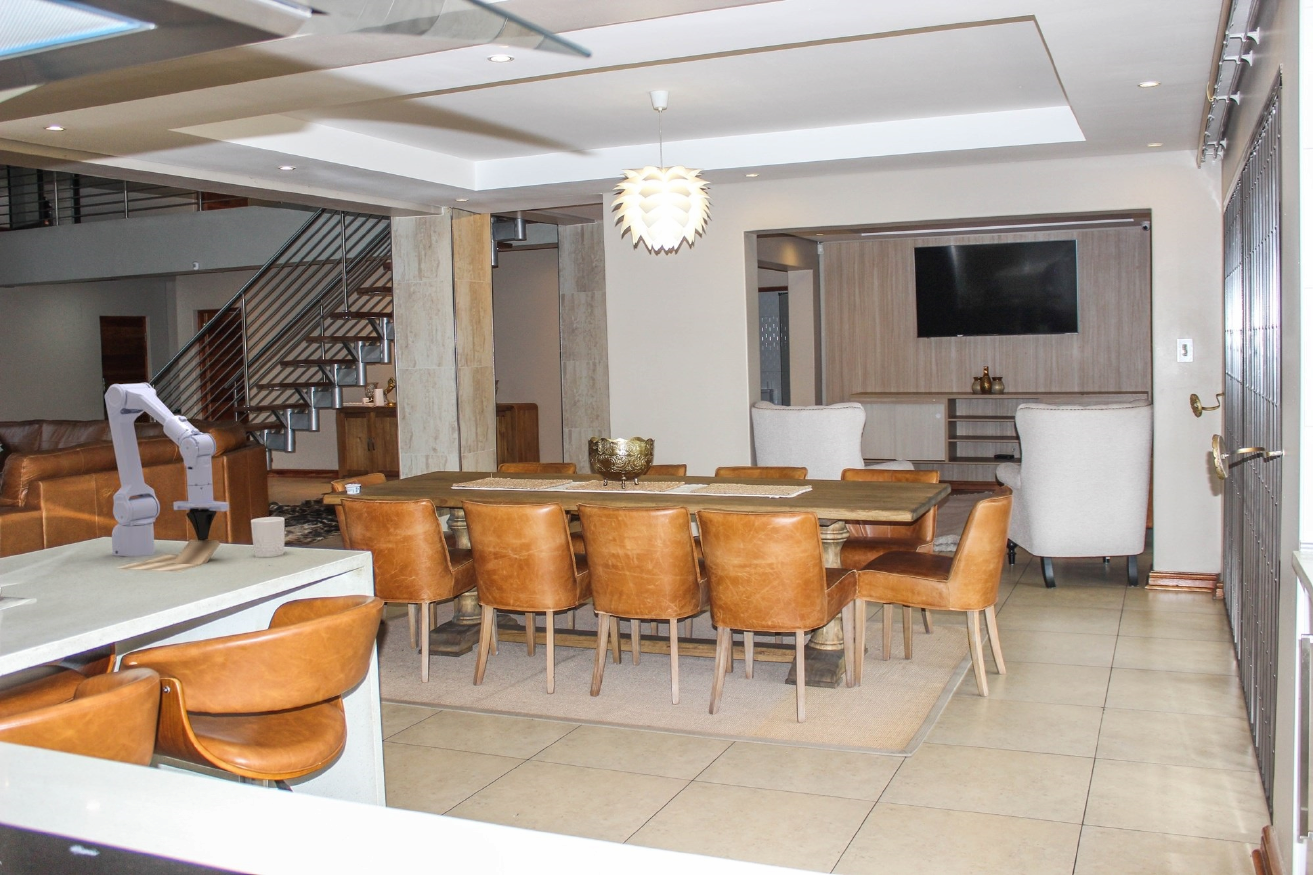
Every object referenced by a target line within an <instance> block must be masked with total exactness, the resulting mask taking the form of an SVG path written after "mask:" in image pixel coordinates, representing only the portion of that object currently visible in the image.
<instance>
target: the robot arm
mask: <svg viewBox="0 0 1313 875" xmlns="http://www.w3.org/2000/svg"><path fill="white" fill-rule="evenodd" d="M104 399H105V405H106V406H105V407H106V411H107V416H108V423H109V428H110V431H111V432H110V434H111V438H112V444H113V449H114V454H115V455H114V456H115V459H116V460H115V461H116V465H117V470H118V476H119V481H120V486H121V487H119V490H117V491H116V493H115V494H113V496H112V499H113V507H112V514H113V517H114V519H115V520H116V522H117V523H118V524H116V525H115V526H114V527H113V529H112V532H111V545H112V556H116V557H117V556H119V557H120V556H121V557H131V558H132V557H144V556H151V555H154V554H156V550H155V549H156V548H155V532H154V523H155V522H156V518H157V517H158V516H159V515H160V512H161V511H160V510H161V505H160V501H159V500H158V498H157V495H156V494H155V489H154V488H153V487H150V486H149V485H148V484H147V483H145V477H144V472H143V468H142V461H141V455H140V452H139V446H138V440H137V436H136V430H135V425H134V423H135V421H136V419H137V418H138V417H139V416H141V415H142V414H143V413H144V412H146V413H147V414H148V415H149V416H151V417H152V418H153V419H155V420H156V421H157V422H158V423H160V424H161V425H162V426H163V427H162V428H163V432H164V434H165V435H166V436H167V438H169V439H170V440H172V441H173V442H174V443H175V444H176V445H177V446H178V447H179V448H178V449H179V453H180V455H181V457H182V459H183V465H184V466H185V468H186V469H185V470H186V486H187V490H186V491H187V500H177V501H173V510H174V511H178V510H179V511H180V510H182V511H183V510H184V511H185V510H186V511H189V512H186V513H185V514H186V518H188V520H189V521H190V523H191V525H192V527H193V531H194V532H195V535H196V538H197V540H209V535H210V531H211V526H212V523H213V520H214V519H215V517H216V515H217V511H218V512H219V511H220V512H228V511H229V510H230V504H229V502H226V501H217V500H214V489H213V487H214V485H213V483H214V482H213V466H212V457H213V456H214V454H216V451H217V443H216V440H215V438H214V437H213V436H212V434H210V433H203V432H200V430H199V429H198V428H196V427H195V426H193V425H192V424H191V422H189V421H188V419H187V417H186V416H185V415H184V416H183V415H179V414H178V415H175V414H173V413H172V411H171V410H170V409H169V408H168V407H167V406H166V404H164V403H163V402H162V400H161V399H159V397H158V396H157V390H156V389H155V388H153V386H152V385H150V383H148V382H140V383H138V382H137V383H123V384H119V383H114V384H111V385H110V386H109V387H108V389H107V391H106V392H105V394H104ZM134 496H135V497H134Z"/></svg>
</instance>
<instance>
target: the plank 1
mask: <svg viewBox="0 0 1313 875" xmlns="http://www.w3.org/2000/svg"><path fill="white" fill-rule="evenodd" d="M178 556H179V554H170V553H166V554H164V555H163V554H162V555H161V556H158V557H157V556H156V557H155V558H151V559H149V560H144V561H143V562H154V563H173V562H174V561H175V560H176V558H177V557H178Z"/></svg>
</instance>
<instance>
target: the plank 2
mask: <svg viewBox="0 0 1313 875" xmlns="http://www.w3.org/2000/svg"><path fill="white" fill-rule="evenodd" d="M220 545H221V543H220V541H219V540H217V539H216V540H215V539H214V540H213V539H212V540H210V539H207V540H198V539H189V541H188V542H187V544H185V546H184V548H183V549H182V550H181V552H180V553H179V554H178V555H179V556H178V557H177V558H176V560H175V561H174V562H173V563H176V564H197V565H200V566H202V565H204V564H207V563H208V561H209V560H210V559H211V558H212V556H213V554H214V553H215V552H216V550H218V547H220Z"/></svg>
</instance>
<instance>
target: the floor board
mask: <svg viewBox="0 0 1313 875" xmlns="http://www.w3.org/2000/svg"><path fill="white" fill-rule="evenodd" d="M200 566H201V565H199V564H178V563H156V562H144V561H138V562H134V563H130V564H126V565H123V566H122V565H121V566H118V567H115V569H121V570H137V571H139V570H140V571H158V572H159V571H160V572H177V573H179V572H182V571H185V570H188V569H192V568H195V567H200Z"/></svg>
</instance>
